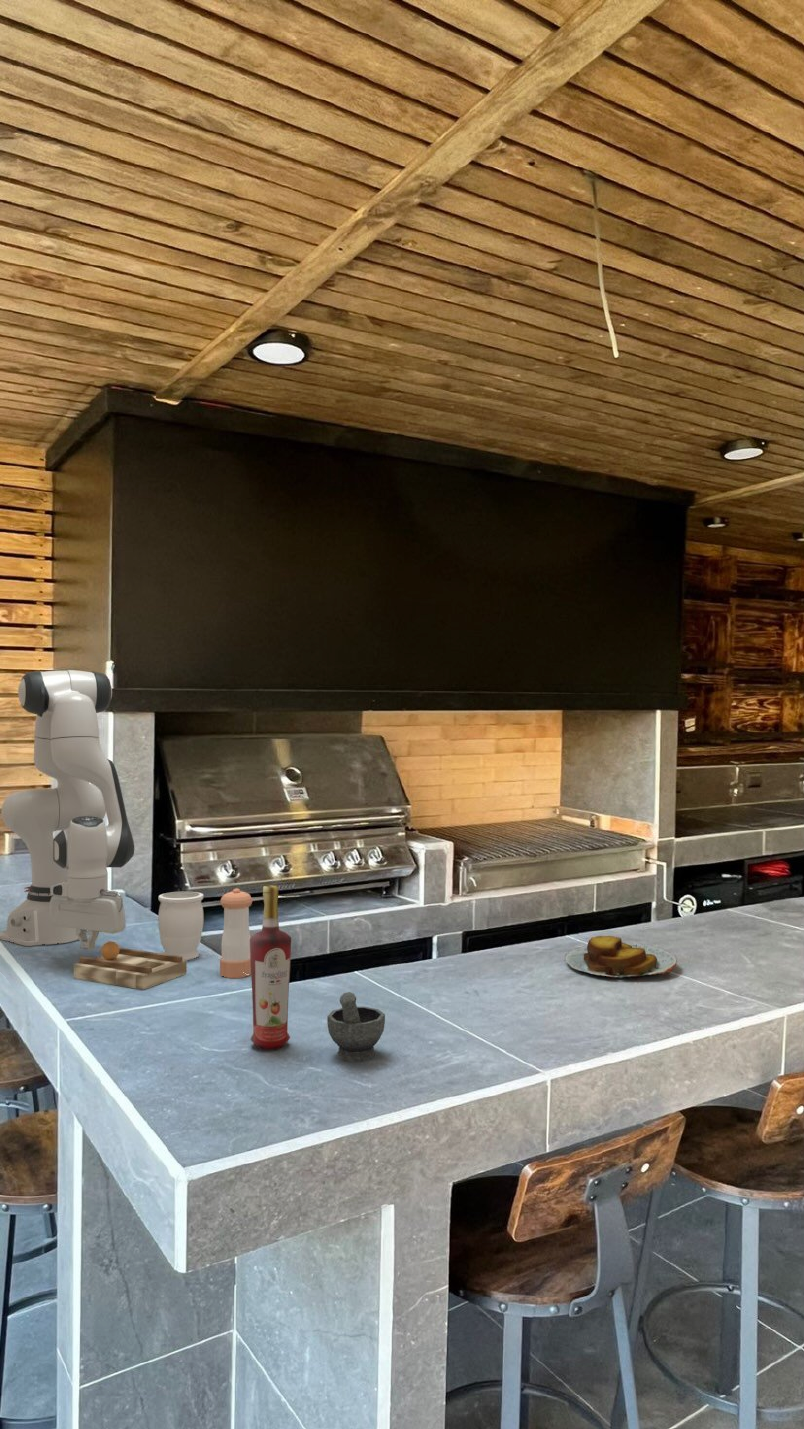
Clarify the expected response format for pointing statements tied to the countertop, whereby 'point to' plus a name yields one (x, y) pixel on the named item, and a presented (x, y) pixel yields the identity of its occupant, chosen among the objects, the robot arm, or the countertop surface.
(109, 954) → the ball
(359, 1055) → the mortar and pestle
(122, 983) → the lane board
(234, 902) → the pepper shaker
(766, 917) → the countertop surface
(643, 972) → the food on plate
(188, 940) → the jar
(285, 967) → the liquor
